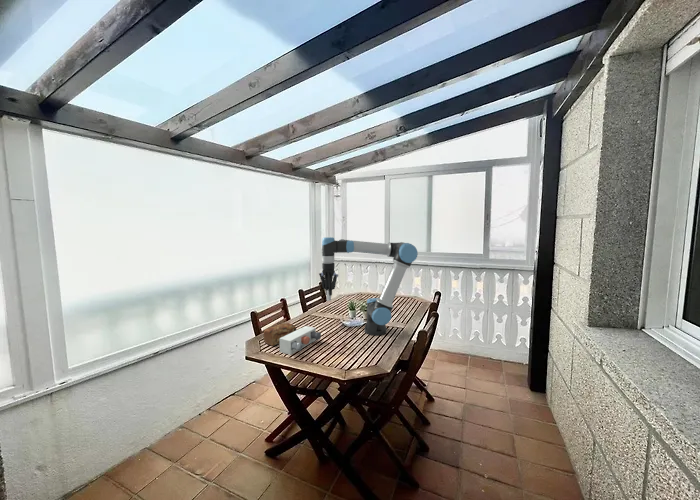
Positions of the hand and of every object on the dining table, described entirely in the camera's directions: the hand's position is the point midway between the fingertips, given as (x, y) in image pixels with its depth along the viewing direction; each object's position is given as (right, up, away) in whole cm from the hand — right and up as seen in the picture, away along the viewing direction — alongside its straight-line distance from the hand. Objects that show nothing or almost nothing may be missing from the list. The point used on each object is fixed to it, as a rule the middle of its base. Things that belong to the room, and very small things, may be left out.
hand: (328, 300), depth 178 cm
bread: (-31, -27, +5) cm, 41 cm away
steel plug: (-20, -25, -13) cm, 35 cm away
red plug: (-17, -25, -4) cm, 30 cm away
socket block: (-18, -27, -4) cm, 33 cm away
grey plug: (-11, -24, +2) cm, 27 cm away
